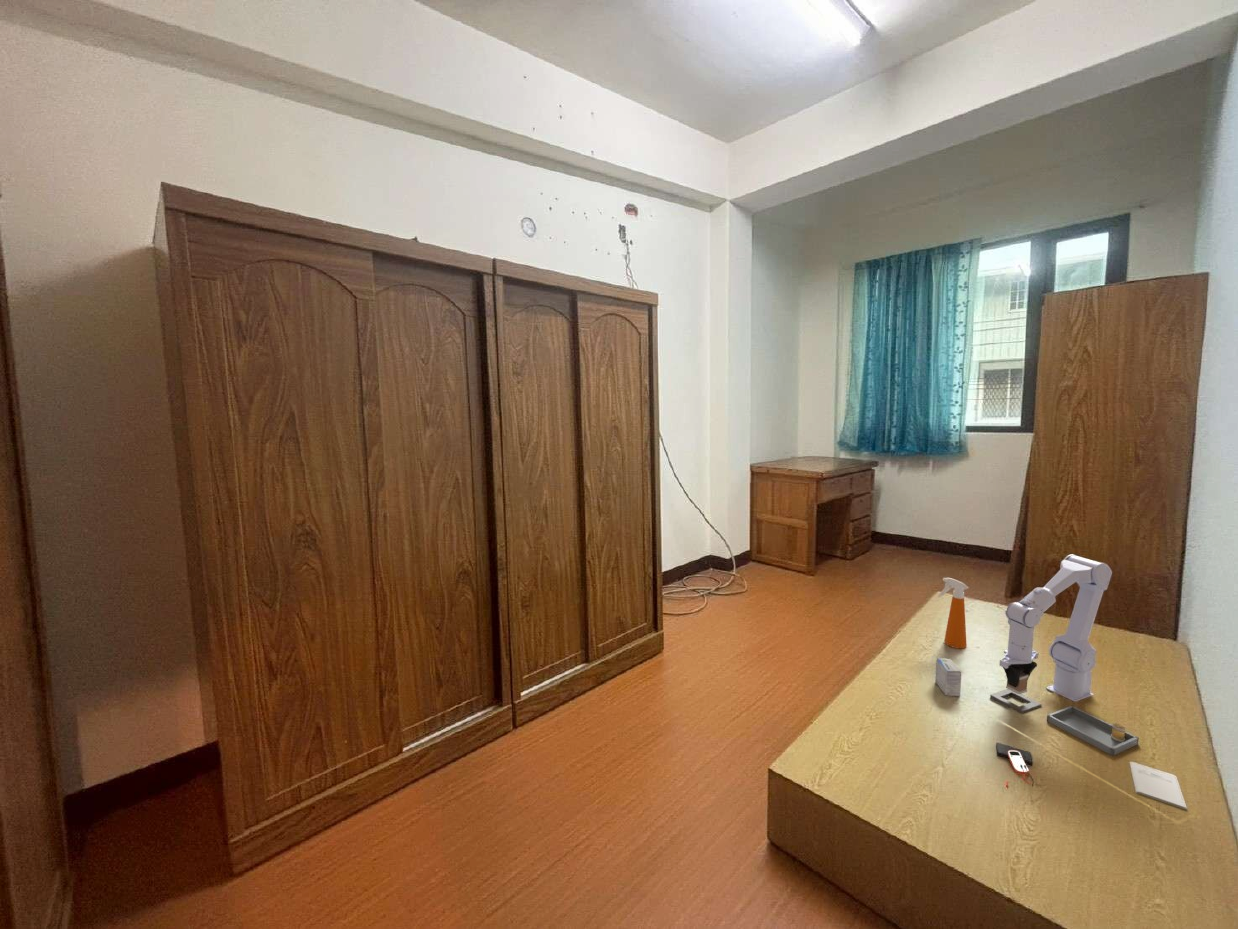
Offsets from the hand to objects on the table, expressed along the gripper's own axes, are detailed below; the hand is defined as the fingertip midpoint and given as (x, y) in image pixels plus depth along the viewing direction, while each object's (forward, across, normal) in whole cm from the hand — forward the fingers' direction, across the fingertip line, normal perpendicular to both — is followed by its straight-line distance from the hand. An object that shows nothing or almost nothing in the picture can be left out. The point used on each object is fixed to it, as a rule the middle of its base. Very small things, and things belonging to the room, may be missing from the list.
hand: (1017, 684), depth 154 cm
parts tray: (+6, -4, +17) cm, 19 cm away
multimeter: (+7, +28, +20) cm, 35 cm away
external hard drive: (+7, +4, +34) cm, 35 cm away
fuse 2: (+6, -7, +22) cm, 23 cm away
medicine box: (+6, +12, -13) cm, 19 cm away
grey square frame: (+6, 0, 0) cm, 6 cm away
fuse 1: (+2, 0, 0) cm, 2 cm away
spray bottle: (+6, -16, -33) cm, 37 cm away
